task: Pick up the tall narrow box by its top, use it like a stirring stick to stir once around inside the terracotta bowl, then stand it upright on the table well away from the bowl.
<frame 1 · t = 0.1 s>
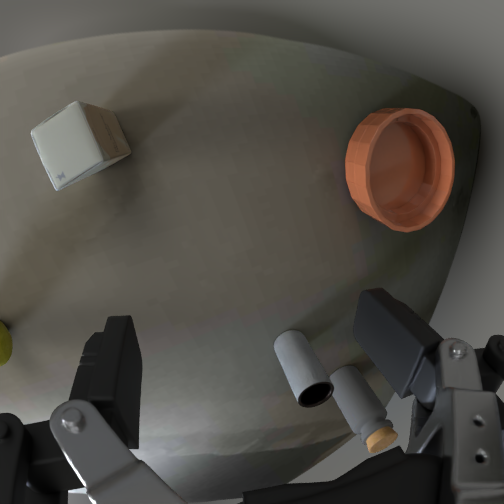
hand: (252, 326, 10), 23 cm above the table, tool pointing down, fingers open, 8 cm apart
grey tube: (288, 341, 41), on the table
box: (104, 140, 27), on the table
bowl: (390, 164, 34), on the table
bottle: (341, 376, 47), on the table
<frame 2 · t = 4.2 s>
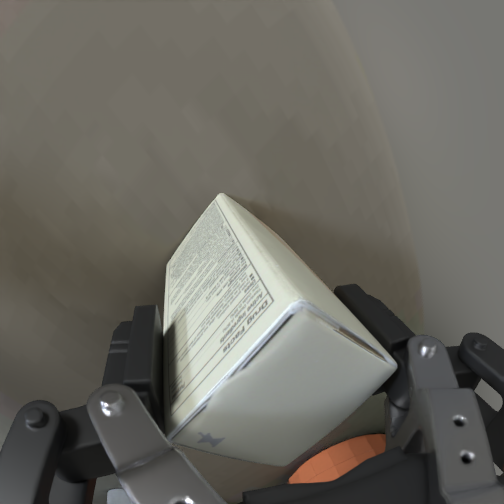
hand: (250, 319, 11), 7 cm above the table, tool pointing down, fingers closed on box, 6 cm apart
grey tube: (125, 493, 26), on the table
box: (223, 246, 17), on the table, touching gripper
bowl: (339, 462, 31), on the table
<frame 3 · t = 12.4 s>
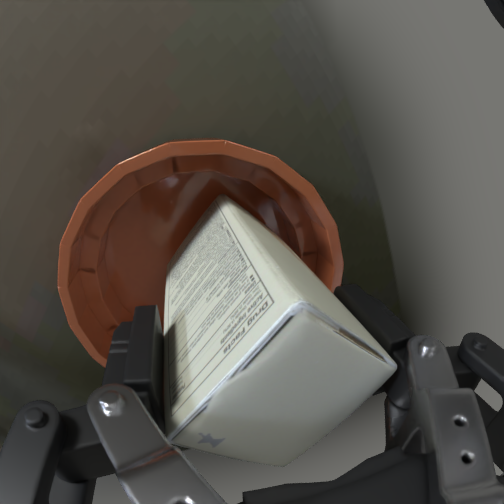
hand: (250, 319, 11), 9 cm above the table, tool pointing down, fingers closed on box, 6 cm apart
box: (223, 247, 17), point 2 cm above the table, touching gripper
bowl: (197, 257, 19), on the table
when the fingers open (7 cm above the table, at t = 20.9 s): box stays where it is, on the table.
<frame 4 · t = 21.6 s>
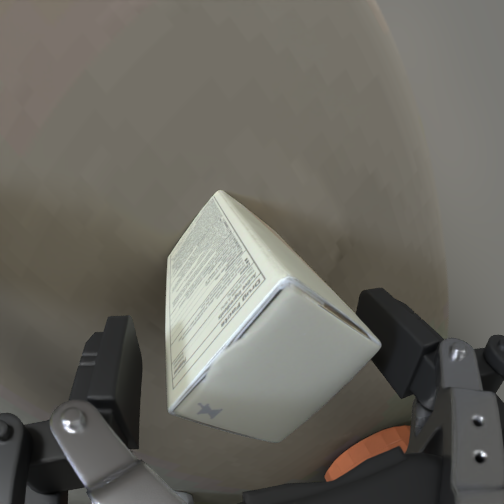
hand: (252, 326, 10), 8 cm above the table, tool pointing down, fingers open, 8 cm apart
grey tube: (175, 495, 29), on the table
box: (221, 241, 18), on the table
bowl: (368, 453, 34), on the table
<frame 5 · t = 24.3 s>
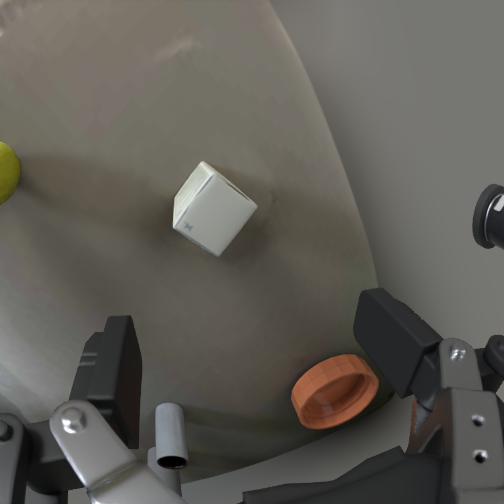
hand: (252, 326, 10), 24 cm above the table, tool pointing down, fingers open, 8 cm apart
grey tube: (169, 409, 44), on the table
box: (203, 189, 32), on the table
bowl: (328, 382, 48), on the table
bottle: (162, 452, 48), on the table
fruit: (8, 167, 25), on the table
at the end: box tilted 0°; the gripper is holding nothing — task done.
